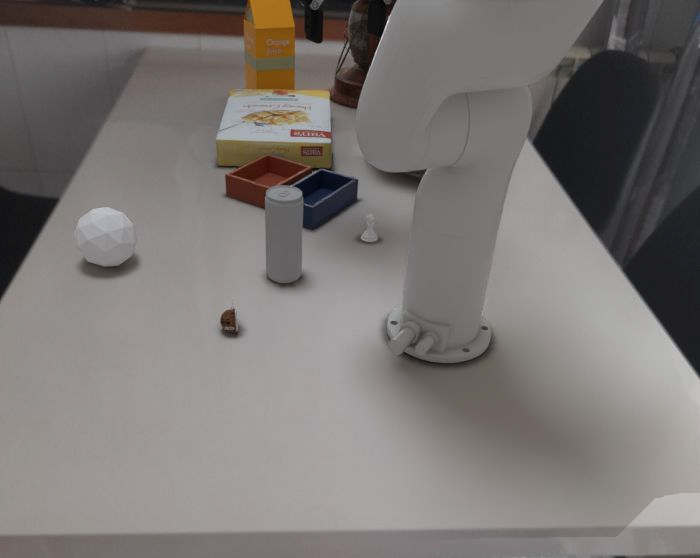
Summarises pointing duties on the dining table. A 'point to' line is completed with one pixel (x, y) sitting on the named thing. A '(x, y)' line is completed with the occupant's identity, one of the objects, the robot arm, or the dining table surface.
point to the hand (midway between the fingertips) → (345, 37)
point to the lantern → (356, 56)
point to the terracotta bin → (263, 178)
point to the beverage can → (284, 233)
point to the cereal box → (276, 127)
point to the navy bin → (325, 195)
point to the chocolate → (229, 320)
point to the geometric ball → (105, 237)
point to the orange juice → (269, 45)
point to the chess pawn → (369, 230)
